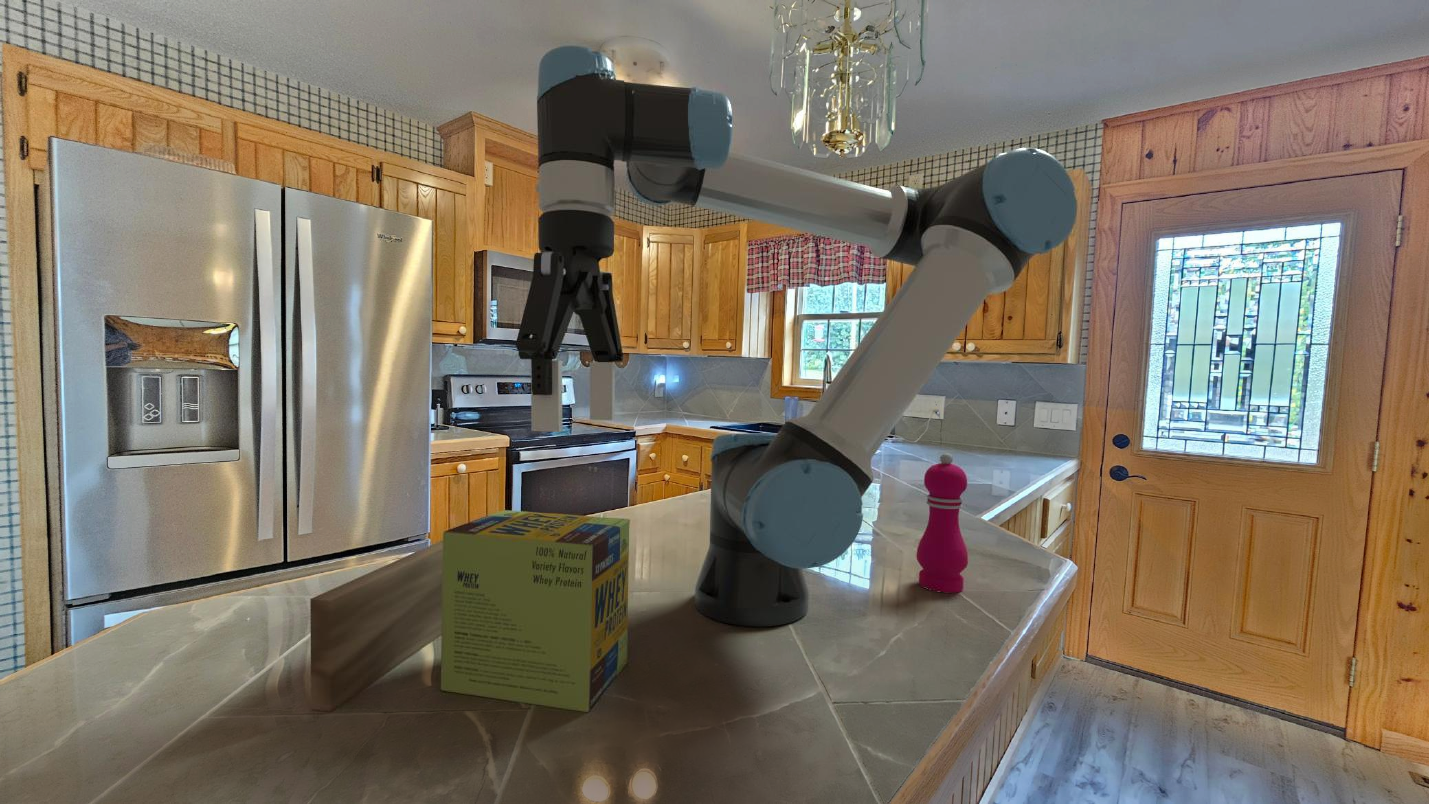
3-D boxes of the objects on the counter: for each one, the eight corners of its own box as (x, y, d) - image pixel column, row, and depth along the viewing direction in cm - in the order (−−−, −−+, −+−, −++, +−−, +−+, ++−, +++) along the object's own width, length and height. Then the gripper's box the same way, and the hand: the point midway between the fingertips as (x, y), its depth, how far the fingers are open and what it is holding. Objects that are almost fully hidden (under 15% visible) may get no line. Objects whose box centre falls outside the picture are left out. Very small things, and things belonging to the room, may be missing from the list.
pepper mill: (976, 589, 92) (983, 454, 91) (946, 598, 88) (953, 457, 87) (935, 575, 98) (940, 448, 97) (905, 583, 94) (910, 451, 93)
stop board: (457, 622, 75) (458, 540, 75) (330, 711, 55) (330, 600, 55) (442, 621, 75) (443, 539, 75) (310, 709, 56) (310, 598, 55)
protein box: (590, 714, 56) (594, 544, 55) (438, 692, 59) (439, 530, 58) (629, 661, 66) (632, 517, 66) (497, 645, 69) (499, 507, 69)
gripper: (590, 241, 76) (590, 415, 77) (471, 181, 52) (474, 436, 53) (649, 239, 75) (649, 416, 76) (555, 176, 50) (557, 438, 51)
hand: (577, 425), depth 64 cm, fingers open, 13 cm apart
